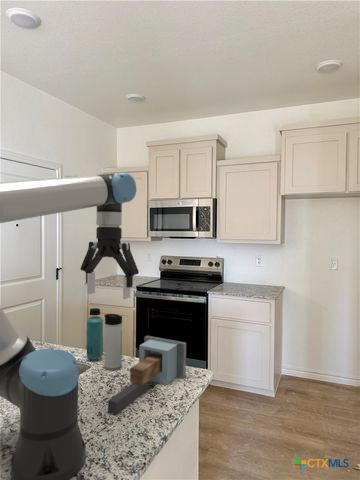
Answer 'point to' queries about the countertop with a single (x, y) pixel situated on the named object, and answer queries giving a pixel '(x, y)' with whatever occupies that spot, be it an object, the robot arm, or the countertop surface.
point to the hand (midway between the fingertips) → (108, 295)
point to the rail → (126, 397)
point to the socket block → (168, 359)
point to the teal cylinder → (94, 335)
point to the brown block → (146, 369)
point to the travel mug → (113, 342)
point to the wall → (180, 354)
